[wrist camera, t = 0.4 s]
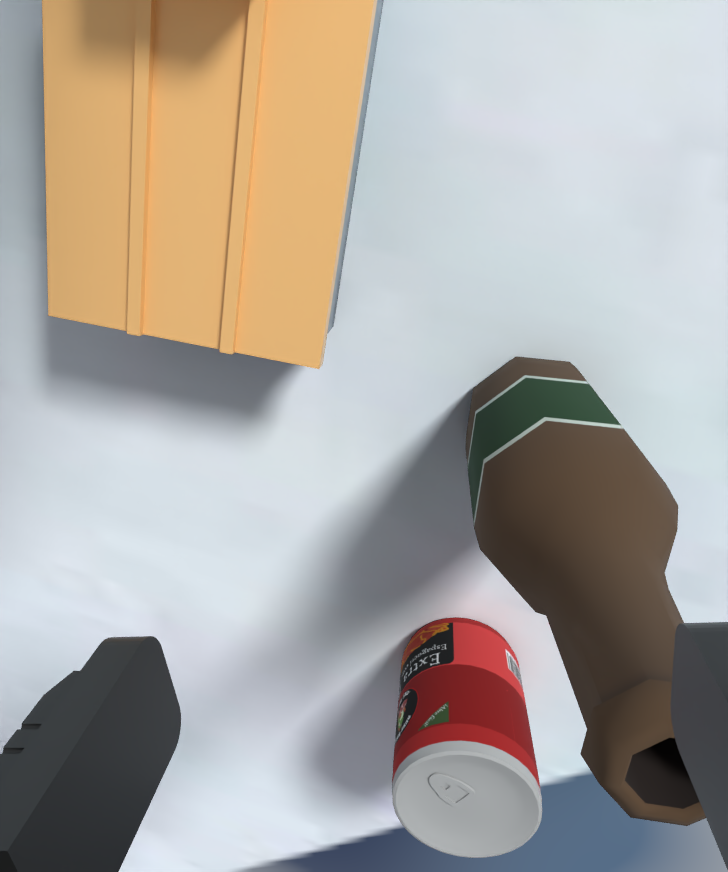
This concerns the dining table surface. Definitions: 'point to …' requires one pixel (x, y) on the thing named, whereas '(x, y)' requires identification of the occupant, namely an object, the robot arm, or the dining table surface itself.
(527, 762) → the canned food
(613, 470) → the beer bottle
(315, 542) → the dining table surface
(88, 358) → the dining table surface
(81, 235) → the lid
